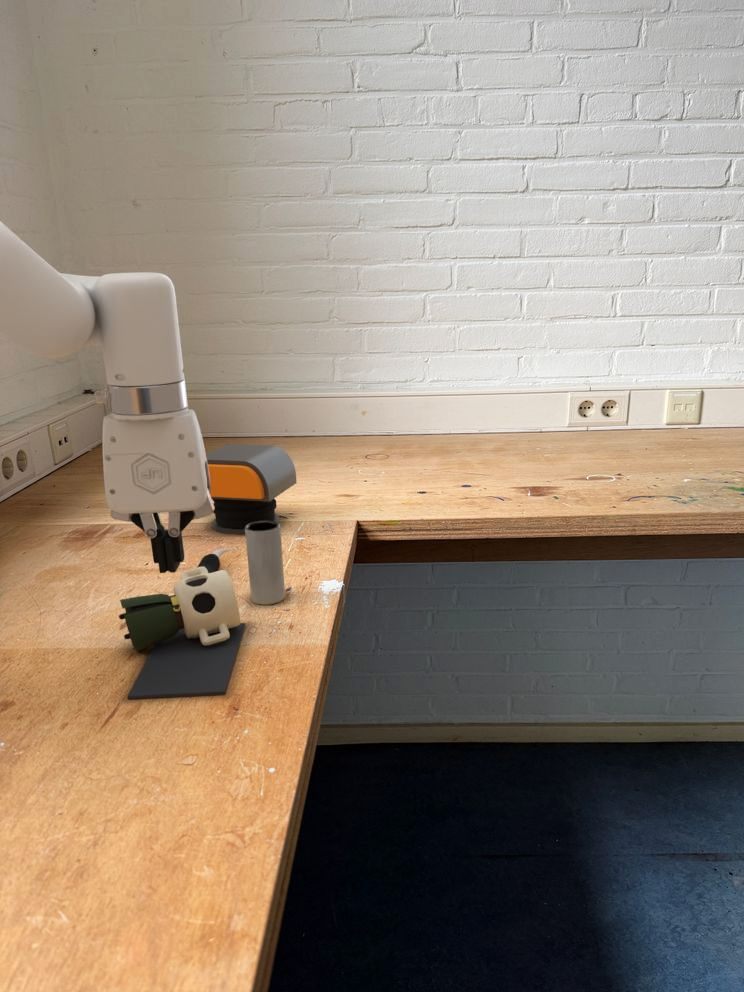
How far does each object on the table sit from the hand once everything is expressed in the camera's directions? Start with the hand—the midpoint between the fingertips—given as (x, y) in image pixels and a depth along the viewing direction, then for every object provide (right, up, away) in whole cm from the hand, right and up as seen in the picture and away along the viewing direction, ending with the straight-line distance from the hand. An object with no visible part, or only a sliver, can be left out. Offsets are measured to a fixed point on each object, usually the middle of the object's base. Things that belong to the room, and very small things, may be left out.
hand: (170, 568), depth 87 cm
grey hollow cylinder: (+7, -5, +20) cm, 22 cm away
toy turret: (-7, +6, +53) cm, 54 cm away
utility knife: (-2, -3, +25) cm, 26 cm away
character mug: (-7, -7, +5) cm, 11 cm away
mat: (+1, -10, +4) cm, 11 cm away
